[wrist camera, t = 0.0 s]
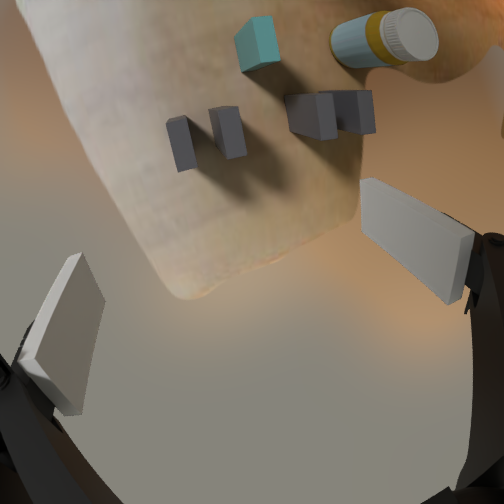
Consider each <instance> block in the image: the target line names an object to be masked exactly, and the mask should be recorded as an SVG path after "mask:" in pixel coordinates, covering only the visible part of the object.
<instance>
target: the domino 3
mask: <svg viewBox="0 0 504 504" xmlns="http://www.w3.org/2000/svg"><path fill="white" fill-rule="evenodd" d="M234 39H235V44H236V49H237V54H238V59H239V64H240V69H241V72H246V71H252V70H257V69H260V68H262V67H265V66H268V65H270V64H273V63H275V62H278V61H281V60H280V54H279V49H278V44H277V39H276V34H275V29H274V25H273V20H272V16H261V17H252V18H251V19H250V20H249V21H248V22H247V23H246V24H245V25H244V26H243V27H242V29H241V30H240V31H239V32H238V33H237V34H236V35H235V36H234Z"/></svg>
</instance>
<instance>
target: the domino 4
mask: <svg viewBox="0 0 504 504" xmlns="http://www.w3.org/2000/svg"><path fill="white" fill-rule="evenodd" d="M284 99H285V104H286V110H287V116H288V123H289V129H290V131H291V132H294V133H298V134H301V135H304V136H308V137H311V138H314V139H317V140H320V141H323V140H330V139H336V138H338V133H337V125H336V117H335V109H334V102H333V95H332V93H301V94H291V95H284Z"/></svg>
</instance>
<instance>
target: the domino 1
mask: <svg viewBox="0 0 504 504" xmlns="http://www.w3.org/2000/svg"><path fill="white" fill-rule="evenodd" d="M166 127H167V131H168V135H169V139H170V143H171V147H172V151H173V155H174V159H175V163H176V167H177V171H178V172H181V171H185V170H189V169H192V168H196V167H198V165H197V161H196V157H195V153H194V149H193V144H192V140H191V136H190V131H189V127H188V123H187V118H186V116H185V115H183V116H179V117H175V118H171V119H169V120H168V121H167V122H166Z"/></svg>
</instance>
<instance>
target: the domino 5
mask: <svg viewBox="0 0 504 504" xmlns="http://www.w3.org/2000/svg"><path fill="white" fill-rule="evenodd" d="M319 93H332V95H333V102H334V109H335V117H336V125H337V129H339V130H344V131H348V132H352V133H356V134H360V135H365V134H372V133H376V128H375V117H374V107H373V99H372V91H371V90H327V91H319Z"/></svg>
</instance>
